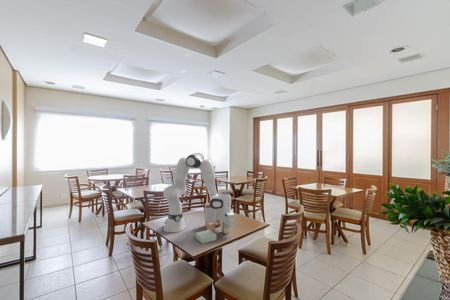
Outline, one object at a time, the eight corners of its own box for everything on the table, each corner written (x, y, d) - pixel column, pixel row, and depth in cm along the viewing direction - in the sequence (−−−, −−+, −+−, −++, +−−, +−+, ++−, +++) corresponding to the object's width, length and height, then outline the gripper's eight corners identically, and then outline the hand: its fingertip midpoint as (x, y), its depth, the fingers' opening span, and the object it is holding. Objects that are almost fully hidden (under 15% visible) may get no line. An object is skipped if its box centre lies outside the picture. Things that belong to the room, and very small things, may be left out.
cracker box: (219, 223, 201) (219, 201, 201) (221, 225, 196) (221, 203, 195) (204, 225, 196) (204, 202, 196) (206, 227, 191) (206, 204, 191)
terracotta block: (206, 231, 182) (206, 223, 182) (210, 230, 186) (210, 221, 186) (210, 233, 179) (210, 224, 179) (214, 231, 183) (214, 223, 182)
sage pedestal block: (195, 237, 170) (195, 232, 170) (209, 234, 176) (209, 229, 176) (202, 243, 160) (202, 238, 160) (216, 240, 166) (216, 234, 166)
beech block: (221, 231, 182) (221, 222, 182) (226, 230, 184) (226, 221, 184) (224, 233, 177) (224, 224, 177) (229, 232, 180) (229, 223, 180)
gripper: (216, 209, 188) (216, 225, 188) (229, 216, 170) (228, 233, 171) (222, 208, 191) (222, 224, 191) (235, 214, 174) (235, 231, 174)
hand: (225, 228), depth 181 cm, fingers closed on beech block, 5 cm apart
